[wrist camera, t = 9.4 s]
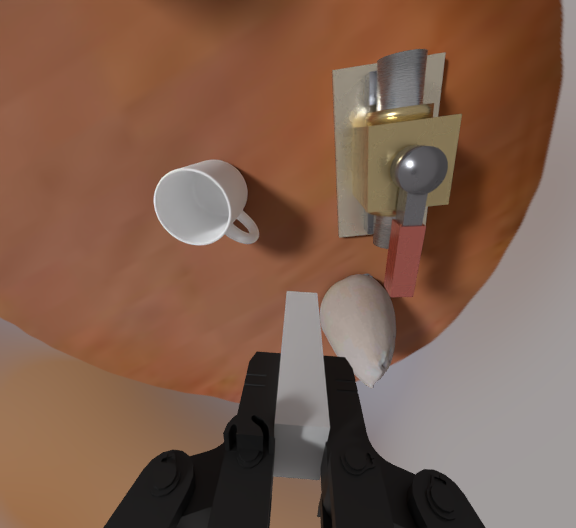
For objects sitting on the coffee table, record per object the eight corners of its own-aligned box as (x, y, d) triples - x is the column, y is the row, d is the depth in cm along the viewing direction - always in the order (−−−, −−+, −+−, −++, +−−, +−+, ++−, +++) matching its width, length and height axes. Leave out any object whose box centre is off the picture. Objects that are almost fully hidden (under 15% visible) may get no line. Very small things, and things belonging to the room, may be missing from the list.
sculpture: (392, 327, 46) (428, 407, 33) (326, 339, 48) (335, 418, 35) (384, 265, 41) (424, 329, 28) (310, 280, 43) (314, 348, 29)
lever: (392, 145, 24) (402, 147, 22) (437, 143, 24) (452, 144, 21) (376, 285, 31) (383, 298, 28) (411, 284, 31) (421, 297, 28)
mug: (280, 206, 38) (274, 231, 28) (245, 245, 40) (228, 278, 31) (212, 144, 34) (179, 149, 25) (179, 191, 37) (139, 211, 28)
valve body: (331, 72, 30) (344, 47, 21) (441, 54, 29) (502, 20, 20) (338, 235, 39) (349, 265, 30) (422, 226, 38) (459, 256, 29)
